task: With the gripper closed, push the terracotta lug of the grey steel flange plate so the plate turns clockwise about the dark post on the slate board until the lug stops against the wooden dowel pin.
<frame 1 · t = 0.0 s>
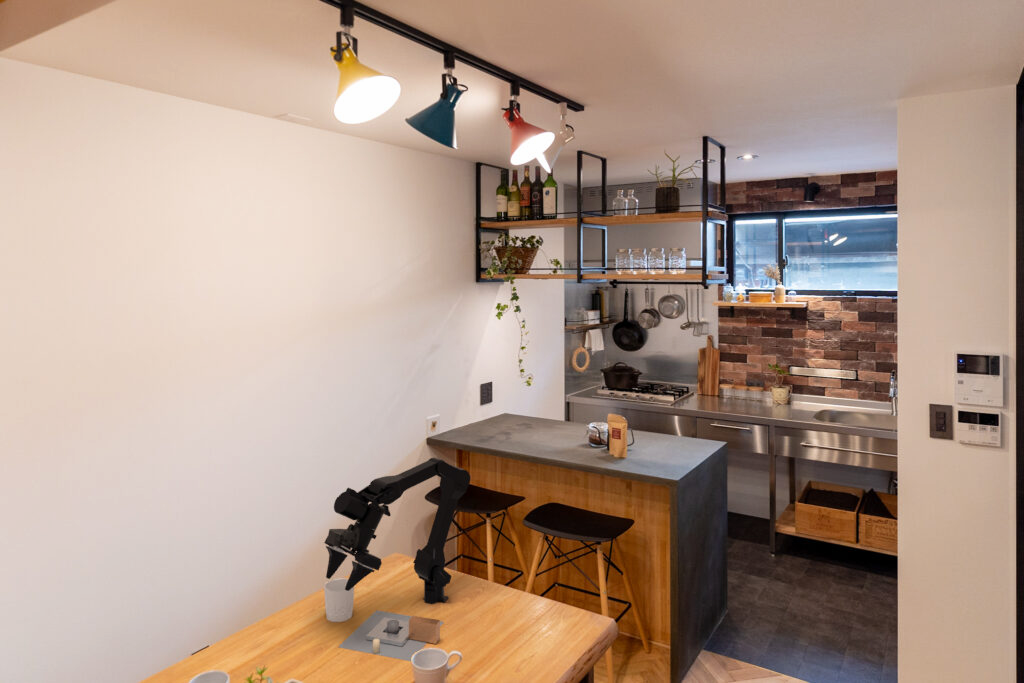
hand: (336, 584, 173), 15 cm above the table, tool tilted 35°, fingers open, 9 cm apart
slate board: (392, 638, 176), on the table
flange plate: (406, 626, 174), point 4 cm above the table, hinge at 0.0°
white cup: (339, 620, 185), on the table
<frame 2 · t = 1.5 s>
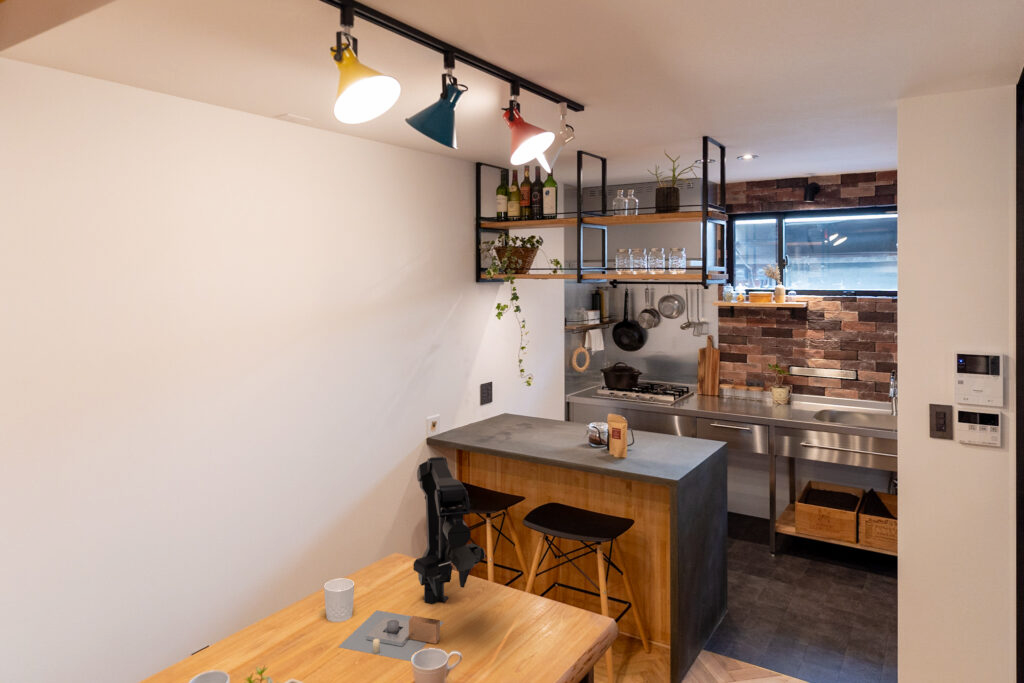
hand: (449, 591, 176), 13 cm above the table, tool pointing down, fingers open, 8 cm apart
nothing on the table moved.
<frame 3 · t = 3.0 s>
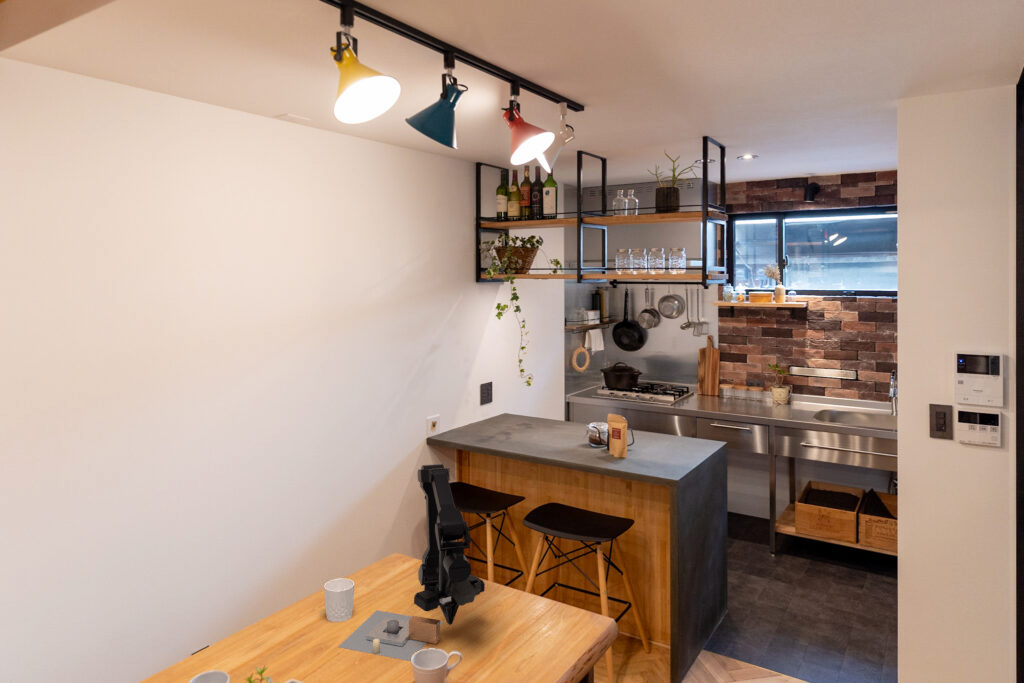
hand: (449, 623, 176), 4 cm above the table, tool pointing down, fingers closed
nothing on the table moved.
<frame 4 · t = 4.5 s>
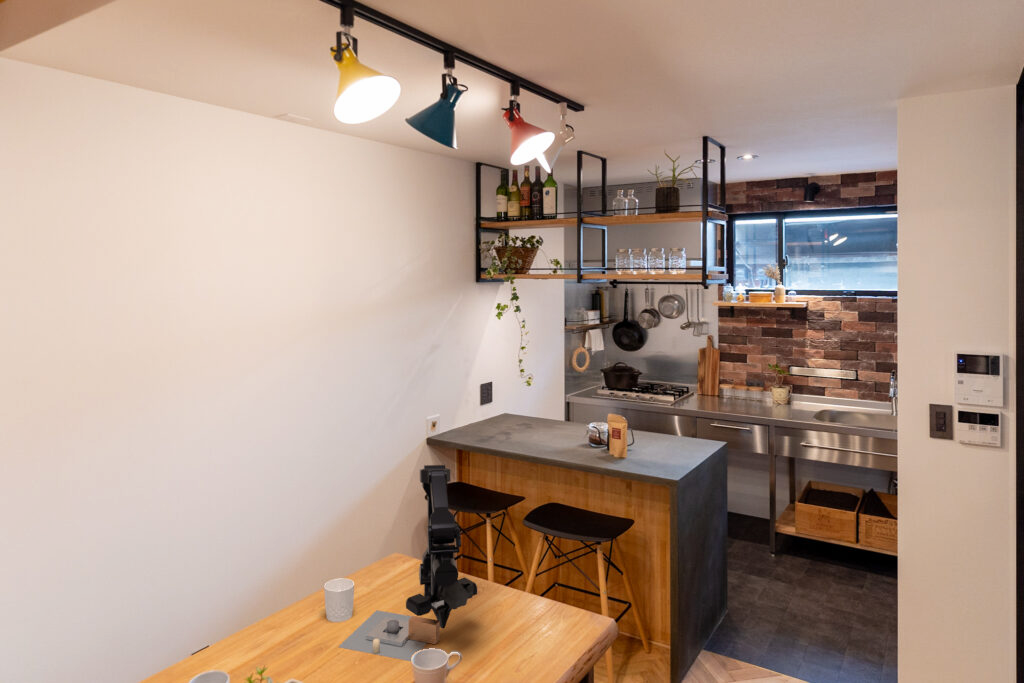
hand: (442, 627, 175), 4 cm above the table, tool pointing down, fingers closed
flange plate: (406, 626, 174), point 4 cm above the table, hinge at -1.1°, touching gripper
everything else where it was.
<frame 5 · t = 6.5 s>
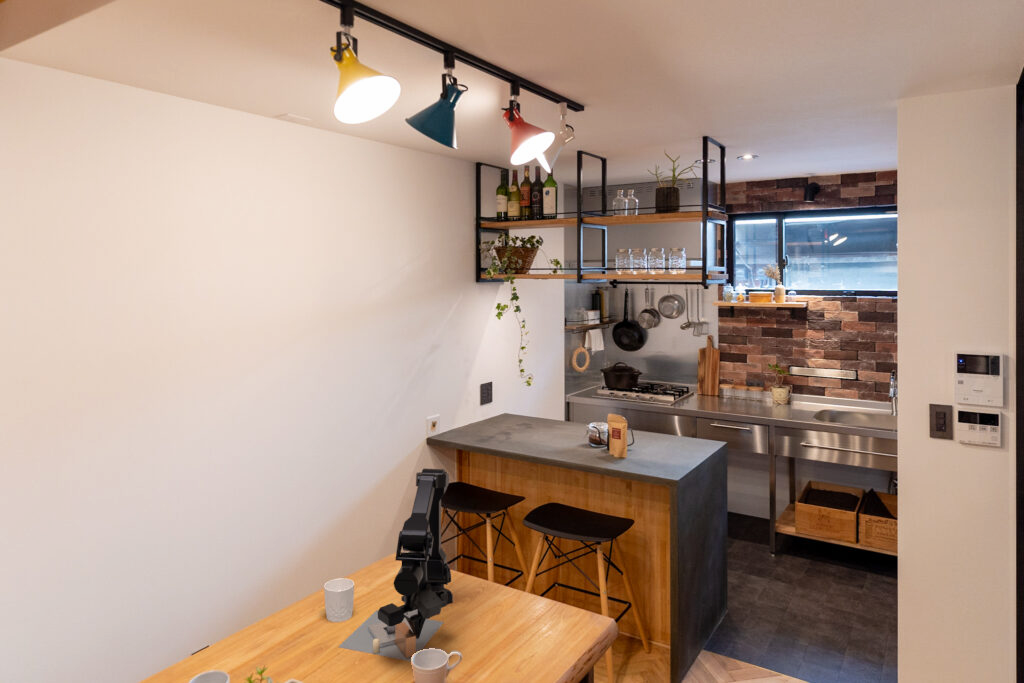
hand: (417, 638, 169), 4 cm above the table, tool pointing down, fingers closed
flange plate: (398, 630, 172), point 4 cm above the table, hinge at -43.5°, touching gripper
everything else where it was.
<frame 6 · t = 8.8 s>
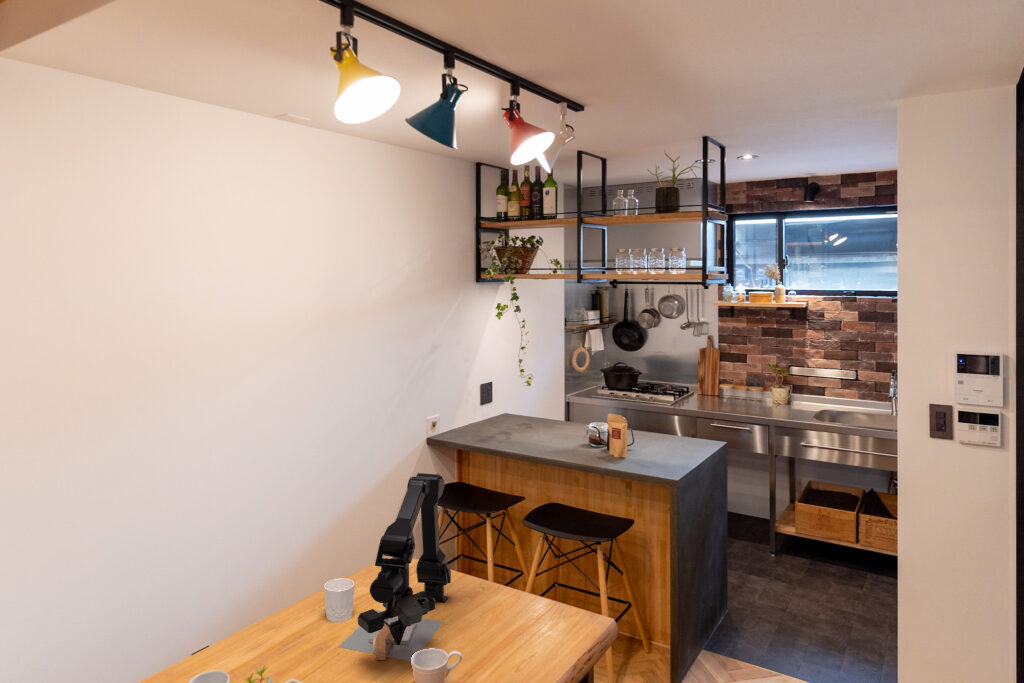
hand: (397, 644, 166), 4 cm above the table, tool pointing down, fingers closed
flange plate: (389, 631, 172), point 4 cm above the table, hinge at -77.2°, touching gripper
everything else where it was.
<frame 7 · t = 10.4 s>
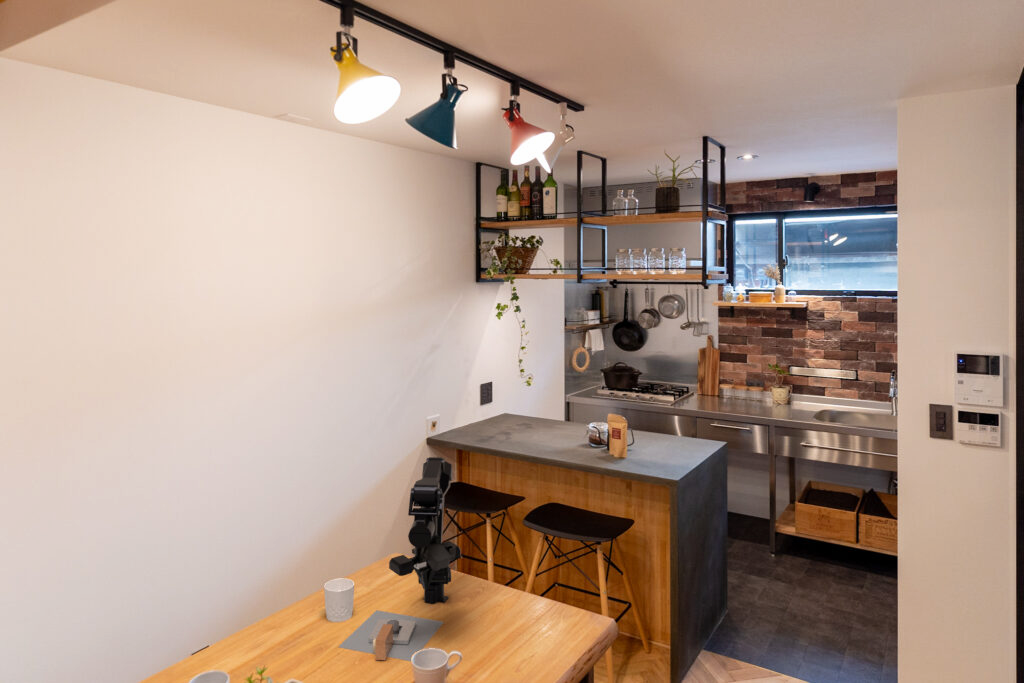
hand: (425, 589, 178), 12 cm above the table, tool pointing down, fingers closed
flange plate: (389, 631, 172), point 4 cm above the table, hinge at -77.2°
everything else where it was.
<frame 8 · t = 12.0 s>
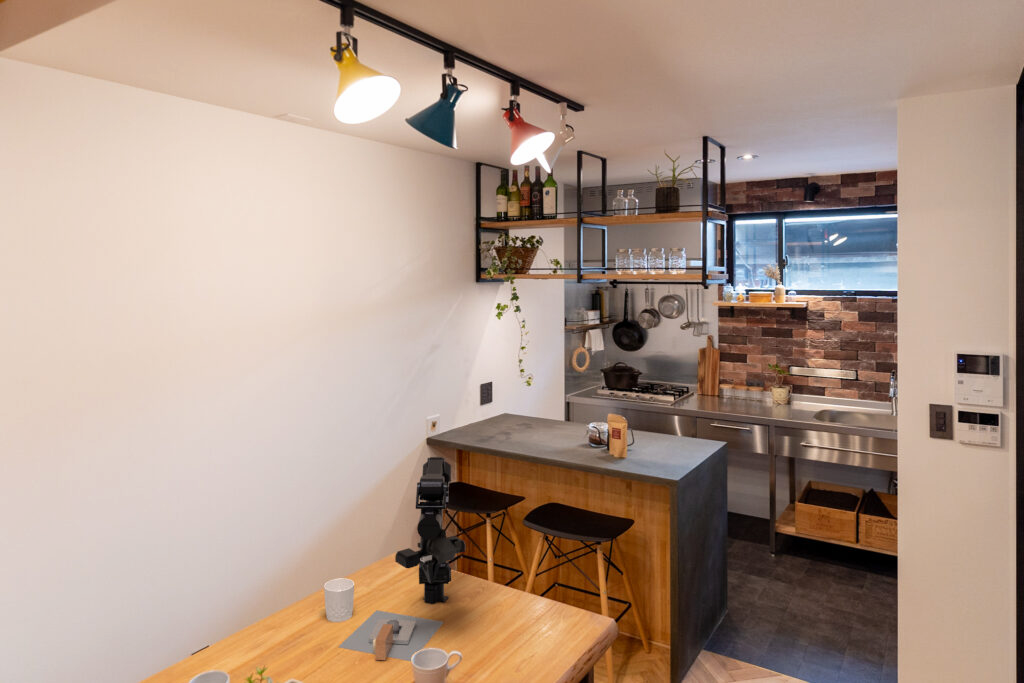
hand: (430, 582, 180), 13 cm above the table, tool pointing down, fingers closed
nothing on the table moved.
at the end: flange plate at -77° (first picture: +0°) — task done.
